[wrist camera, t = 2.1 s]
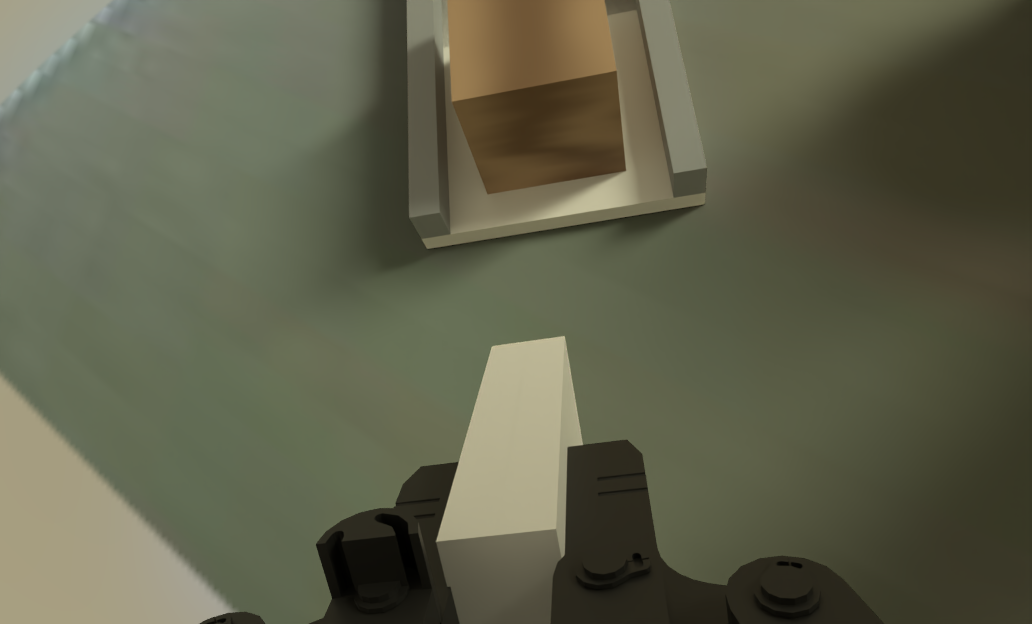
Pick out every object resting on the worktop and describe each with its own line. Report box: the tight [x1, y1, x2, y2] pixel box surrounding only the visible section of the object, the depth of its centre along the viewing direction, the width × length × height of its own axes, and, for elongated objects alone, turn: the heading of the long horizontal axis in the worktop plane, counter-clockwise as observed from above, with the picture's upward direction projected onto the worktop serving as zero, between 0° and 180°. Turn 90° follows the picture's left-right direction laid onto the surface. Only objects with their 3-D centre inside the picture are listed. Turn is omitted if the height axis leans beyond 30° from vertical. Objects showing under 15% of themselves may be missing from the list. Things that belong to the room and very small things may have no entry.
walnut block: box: [447, 0, 626, 194], centre depth 37 cm, size 7×10×7 cm
